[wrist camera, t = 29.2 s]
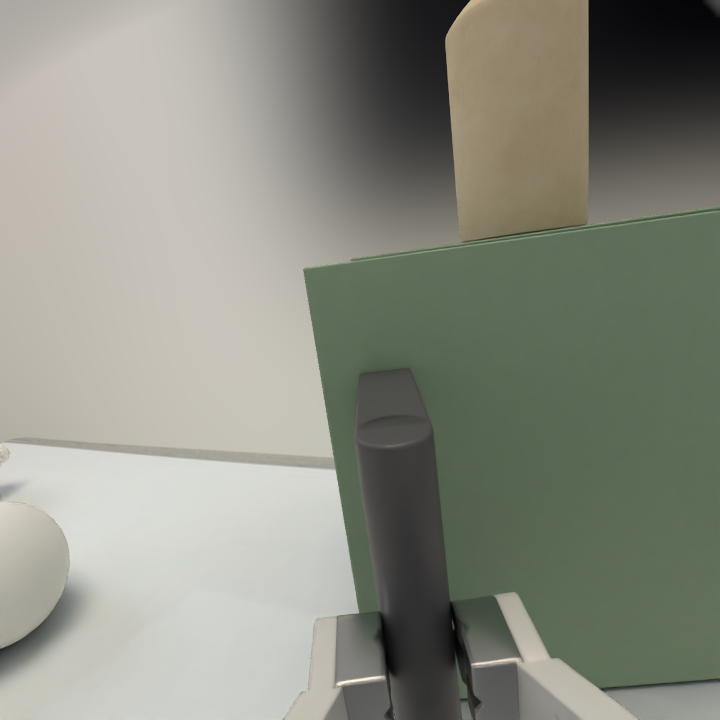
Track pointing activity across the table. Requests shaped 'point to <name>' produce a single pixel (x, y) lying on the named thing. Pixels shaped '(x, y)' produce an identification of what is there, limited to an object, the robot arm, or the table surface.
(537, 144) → the candle
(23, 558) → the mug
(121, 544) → the table surface
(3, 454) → the dog bone
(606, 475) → the door
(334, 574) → the table surface
